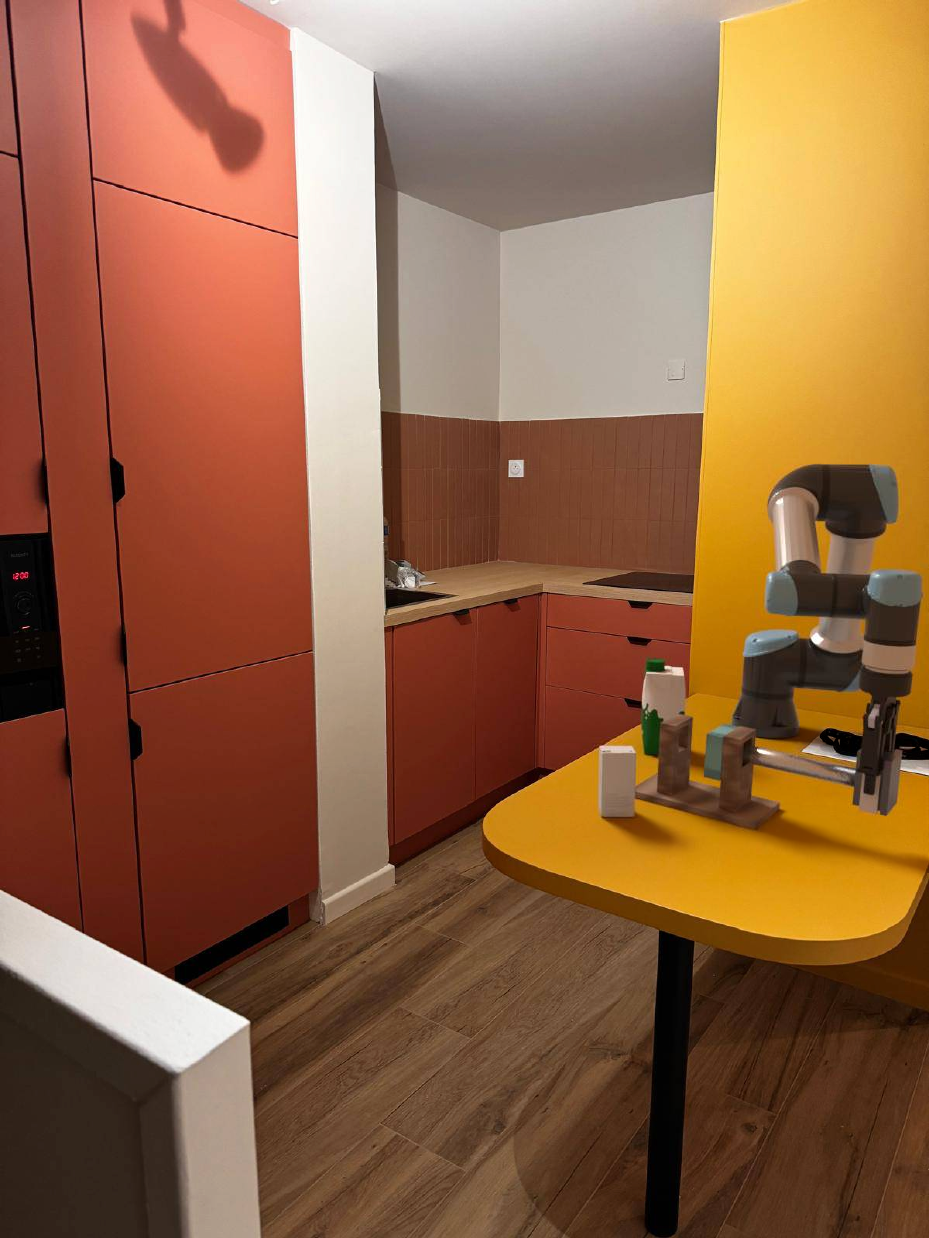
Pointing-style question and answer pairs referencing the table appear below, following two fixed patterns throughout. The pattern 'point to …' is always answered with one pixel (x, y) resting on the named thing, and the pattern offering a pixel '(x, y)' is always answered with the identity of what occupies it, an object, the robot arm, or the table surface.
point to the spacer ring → (715, 751)
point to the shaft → (833, 771)
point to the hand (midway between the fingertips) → (872, 806)
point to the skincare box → (617, 781)
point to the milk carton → (660, 700)
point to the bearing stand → (701, 798)
